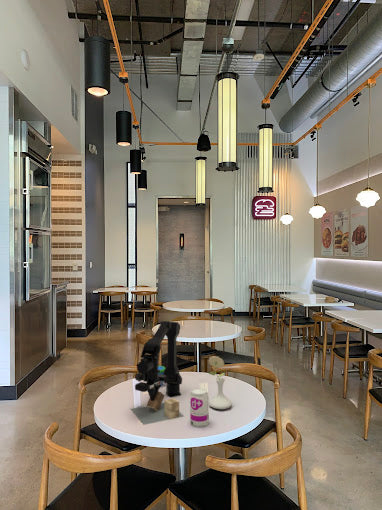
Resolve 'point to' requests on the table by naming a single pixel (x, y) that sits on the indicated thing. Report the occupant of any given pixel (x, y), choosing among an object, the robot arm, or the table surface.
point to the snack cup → (161, 373)
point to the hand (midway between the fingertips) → (152, 400)
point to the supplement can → (199, 408)
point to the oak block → (171, 408)
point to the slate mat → (151, 414)
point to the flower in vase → (219, 386)
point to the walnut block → (156, 402)
